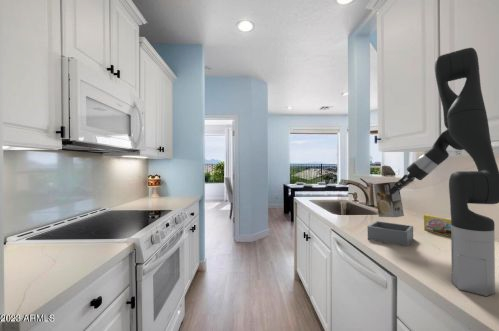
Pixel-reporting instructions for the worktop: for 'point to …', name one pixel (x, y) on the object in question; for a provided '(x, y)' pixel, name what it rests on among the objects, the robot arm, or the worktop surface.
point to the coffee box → (388, 200)
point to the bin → (390, 233)
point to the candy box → (437, 225)
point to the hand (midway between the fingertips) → (392, 192)
